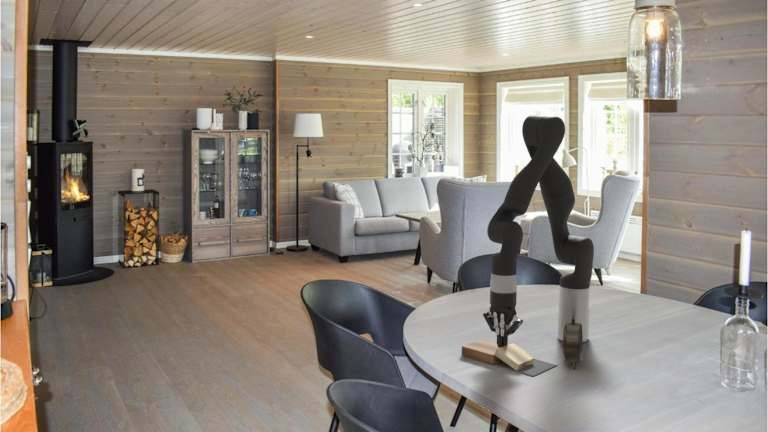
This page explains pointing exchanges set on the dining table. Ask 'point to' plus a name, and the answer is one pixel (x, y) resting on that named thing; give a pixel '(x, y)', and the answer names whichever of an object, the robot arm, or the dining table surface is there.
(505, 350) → the coaster
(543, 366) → the mat
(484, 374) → the dining table surface
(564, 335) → the alarm clock
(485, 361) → the board
